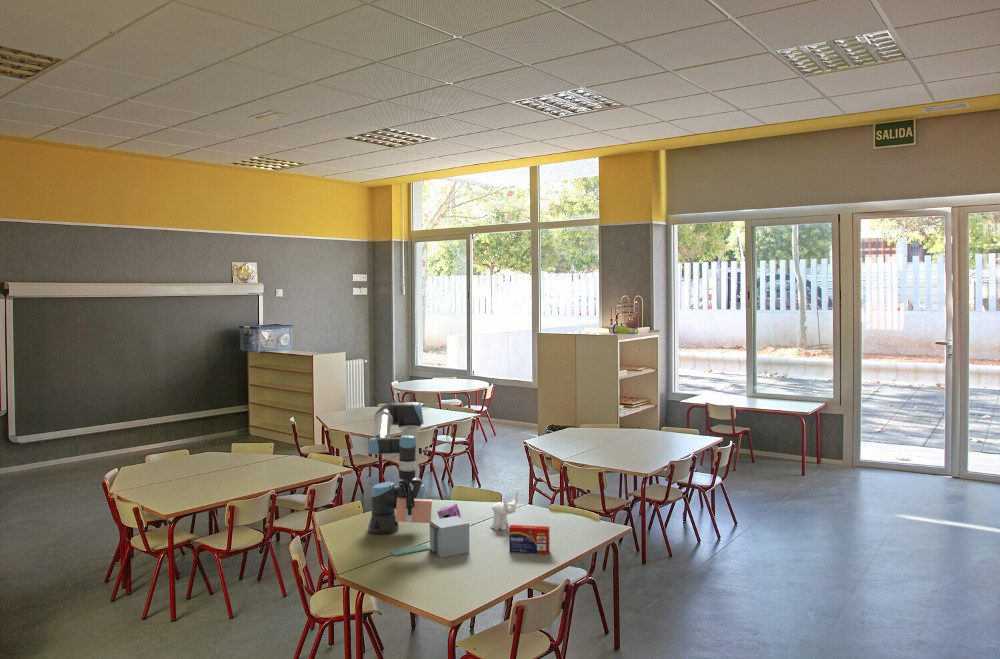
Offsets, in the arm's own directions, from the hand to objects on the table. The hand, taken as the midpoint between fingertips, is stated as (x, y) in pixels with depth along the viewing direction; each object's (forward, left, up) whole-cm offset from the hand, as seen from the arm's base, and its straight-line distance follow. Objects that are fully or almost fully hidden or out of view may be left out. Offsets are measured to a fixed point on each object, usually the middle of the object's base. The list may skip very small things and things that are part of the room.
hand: (406, 520), depth 335 cm
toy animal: (-9, +56, -15) cm, 58 cm away
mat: (-1, +2, -15) cm, 15 cm away
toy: (-11, +28, -15) cm, 33 cm away
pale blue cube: (+8, +18, -15) cm, 25 cm away
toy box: (+28, +49, -15) cm, 58 cm away
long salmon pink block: (+1, +3, -1) cm, 3 cm away
